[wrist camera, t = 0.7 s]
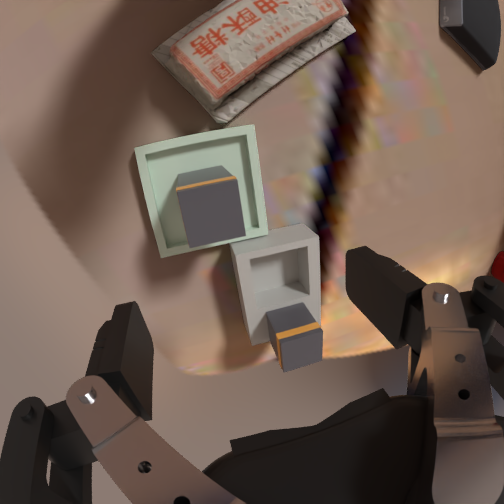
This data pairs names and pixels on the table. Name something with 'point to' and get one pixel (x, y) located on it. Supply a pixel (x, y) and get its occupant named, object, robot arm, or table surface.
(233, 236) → the plug
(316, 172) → the table surface
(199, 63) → the packaged product
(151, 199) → the tray
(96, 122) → the table surface
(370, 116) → the table surface
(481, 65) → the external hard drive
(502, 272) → the plastic cup
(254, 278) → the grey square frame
